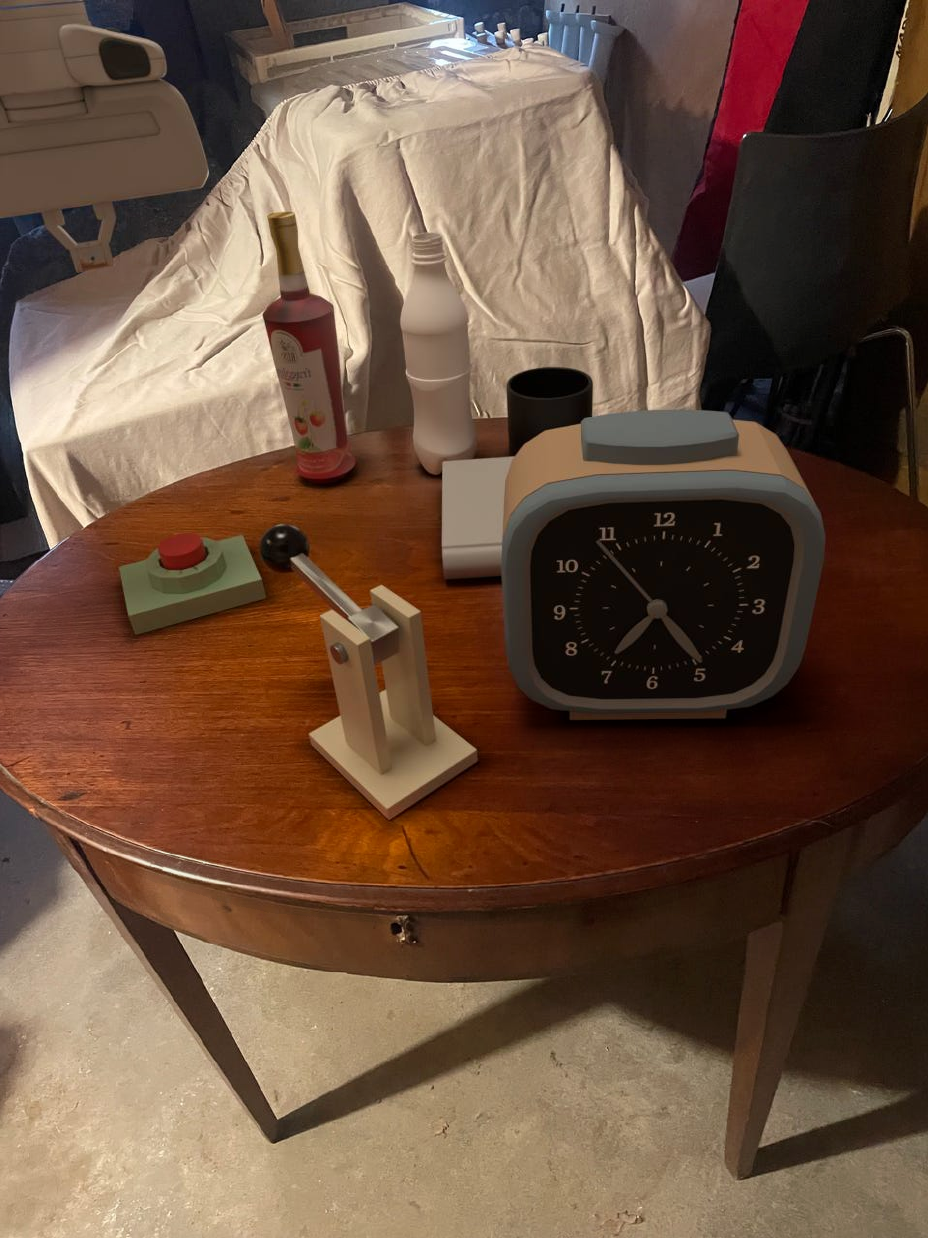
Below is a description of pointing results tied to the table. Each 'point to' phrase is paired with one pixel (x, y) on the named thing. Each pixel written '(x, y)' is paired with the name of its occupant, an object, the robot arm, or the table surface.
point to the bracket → (387, 714)
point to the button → (182, 551)
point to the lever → (327, 587)
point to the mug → (546, 402)
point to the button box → (190, 586)
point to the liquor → (307, 362)
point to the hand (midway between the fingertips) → (95, 267)
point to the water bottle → (437, 359)
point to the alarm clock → (657, 565)
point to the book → (473, 516)
